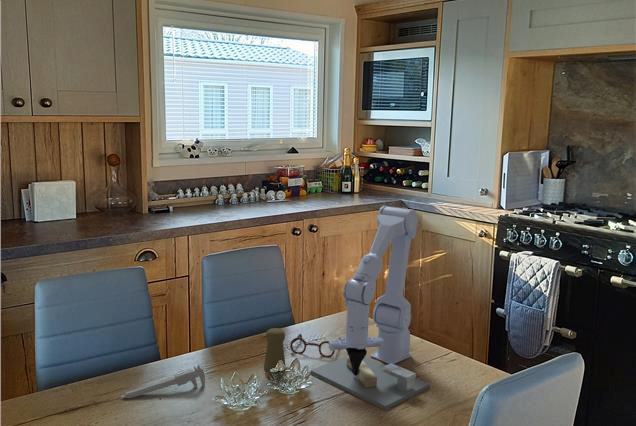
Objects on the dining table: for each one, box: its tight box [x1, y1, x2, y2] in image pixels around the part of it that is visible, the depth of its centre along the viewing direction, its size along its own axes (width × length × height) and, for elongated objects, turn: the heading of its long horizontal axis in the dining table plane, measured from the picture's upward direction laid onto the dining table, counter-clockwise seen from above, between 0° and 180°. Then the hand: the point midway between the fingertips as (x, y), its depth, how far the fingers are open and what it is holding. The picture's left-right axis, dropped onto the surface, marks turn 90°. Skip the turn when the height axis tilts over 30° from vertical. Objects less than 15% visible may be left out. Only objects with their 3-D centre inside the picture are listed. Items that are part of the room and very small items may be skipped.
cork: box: [263, 327, 286, 373], centre depth 166 cm, size 6×6×11 cm
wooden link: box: [346, 354, 377, 387], centre depth 162 cm, size 15×4×4 cm, turn 16°
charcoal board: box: [310, 355, 431, 411], centre depth 161 cm, size 18×26×1 cm
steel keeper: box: [381, 363, 417, 393], centre depth 156 cm, size 8×4×4 cm, turn 44°
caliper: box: [120, 363, 206, 400], centre depth 151 cm, size 20×1×6 cm, turn 113°
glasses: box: [290, 333, 342, 359], centre depth 182 cm, size 13×13×5 cm
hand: (354, 373), depth 160 cm, fingers closed
